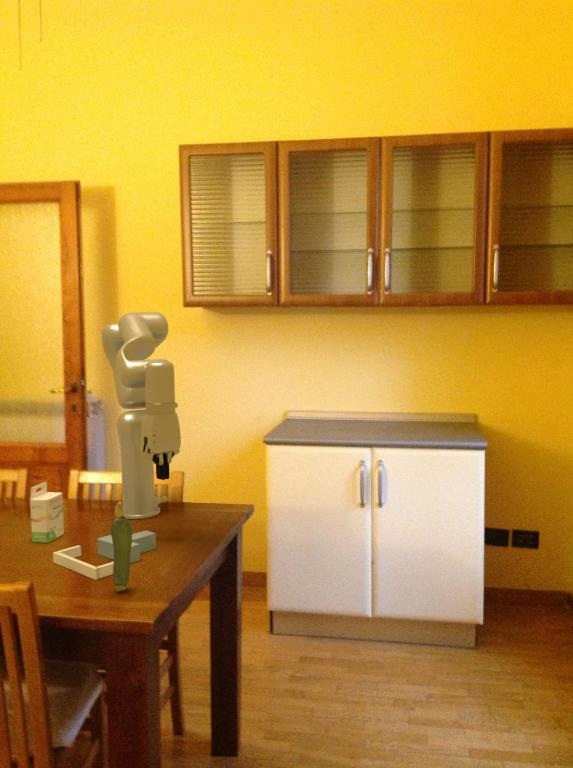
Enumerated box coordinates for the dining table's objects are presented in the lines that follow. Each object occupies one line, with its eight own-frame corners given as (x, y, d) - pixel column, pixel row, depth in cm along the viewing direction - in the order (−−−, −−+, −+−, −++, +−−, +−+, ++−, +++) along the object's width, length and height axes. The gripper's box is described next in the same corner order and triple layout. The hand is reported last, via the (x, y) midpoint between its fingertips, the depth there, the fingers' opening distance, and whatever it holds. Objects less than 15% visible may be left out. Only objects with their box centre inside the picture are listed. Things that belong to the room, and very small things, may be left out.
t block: (137, 542, 183) (136, 527, 183) (165, 551, 175) (165, 536, 175) (97, 554, 174) (97, 538, 174) (126, 564, 166) (125, 548, 166)
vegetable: (115, 586, 152) (111, 497, 150) (135, 585, 152) (132, 496, 151) (111, 594, 148) (108, 502, 146) (132, 593, 148) (129, 501, 146)
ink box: (48, 543, 183) (45, 488, 182) (31, 542, 184) (28, 488, 183) (65, 533, 192) (62, 481, 190) (48, 532, 193) (46, 480, 191)
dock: (79, 555, 173) (78, 545, 173) (121, 571, 162) (121, 560, 161) (53, 562, 168) (53, 552, 168) (95, 579, 156) (95, 569, 156)
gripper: (174, 405, 187) (176, 472, 189) (127, 411, 176) (130, 482, 178) (192, 407, 182) (194, 475, 184) (146, 413, 171) (148, 486, 173)
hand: (162, 478), depth 181 cm, fingers closed
